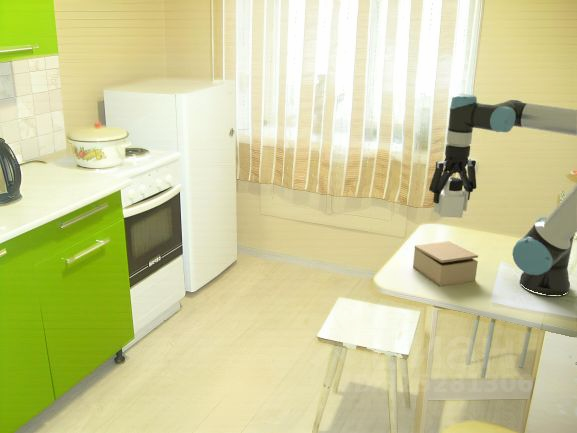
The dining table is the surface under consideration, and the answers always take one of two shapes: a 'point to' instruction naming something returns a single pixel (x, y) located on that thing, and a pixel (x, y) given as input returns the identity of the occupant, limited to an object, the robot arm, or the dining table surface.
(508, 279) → the dining table surface
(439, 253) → the lid
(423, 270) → the box
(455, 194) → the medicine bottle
